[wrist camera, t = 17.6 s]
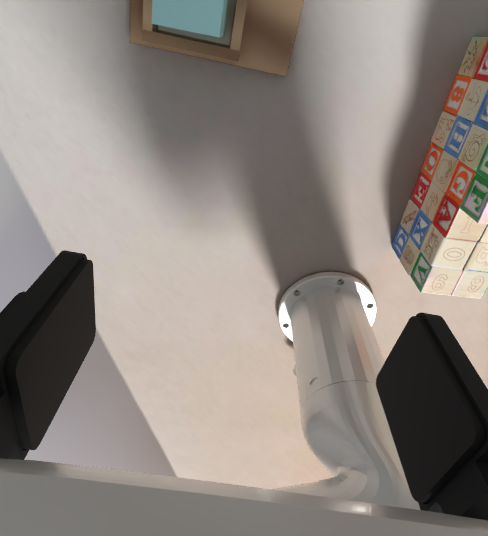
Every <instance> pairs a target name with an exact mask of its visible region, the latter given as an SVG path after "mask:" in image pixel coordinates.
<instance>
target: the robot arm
mask: <svg viewBox="0 0 488 536" xmlns="http://www.w3.org/2000/svg"><path fill="white" fill-rule="evenodd" d="M376 310H377V308H376V302H375V299H374V296H373V294H372V292H371V291H370V289H369V288H368V287H367V285H366V284H365V283H364V282H362V281H361V280H359V279H358V278H356V277H354V276H351V275H349V274H345V273H340V272H322V273H317V274H313V275H309V276H307V277H305V278H302V279H301V280H299V281H297V282H296V283H294V284H293V285H292V286H291V287H290V288H289V289H288V290H287V291H286V292H285V294H284V295H283V296H282V299H281V301H280V303H279V308H278V319H279V324H280V327H281V329H282V331H283V332H284V334H285V335H286V336H287V337H288V338H289V339H290V340H291V341H293V347H294V356H295V367H294V369H293V372H294V374H295V375H296V376H297V384H298V393H299V403H300V412H301V423H302V430H303V434H304V437H305V440H306V442H307V444H308V446H309V448H310V450H311V451H312V453H313V454H314V455H315V457H316V458H317V459H318V460H319V461H320V462H321V464H322V465H323V466H324V467H325V468H326V469H327V470H329V471H330V472H331V473H332V474H333V475H334V476H335V477H333V478H330V479H325V480H320V481H318V482H313V483H307V484H301V485H295V486H289V487H283V488H277V489H271V490H269V489H262V488H254V487H247V486H239V485H232V484H224V483H216V482H209V481H201V480H193V479H185V478H177V477H170V476H162V475H154V474H146V473H138V472H130V471H122V470H115V469H107V468H98V467H89V466H80V465H71V464H61V463H52V462H43V461H33V460H24V459H25V457H26V455H27V453H28V451H29V449H30V450H35V449H36V448H37V447H38V446H39V444H40V442H41V441H42V439H43V437H44V435H45V433H46V431H47V429H48V427H49V425H50V424H51V421H52V420H53V418H54V416H55V414H56V412H57V410H58V408H59V406H60V404H61V402H62V400H63V399H64V397H65V395H66V393H67V391H68V389H69V387H70V385H71V383H72V381H73V380H74V378H75V376H76V374H77V372H78V370H79V368H80V366H81V364H82V362H83V361H84V359H85V357H86V355H87V353H88V351H89V349H90V347H91V345H92V343H93V341H94V338H95V333H96V326H95V302H94V279H93V263H92V261H91V260H87V257H86V255H85V254H82V253H76V252H70V251H62V252H61V253H60V254H59V255H58V256H57V257H56V258H55V260H54V261H53V262H52V263H51V264H50V265H49V266H48V267H47V268H46V270H45V271H44V272H43V273H42V274H41V275H40V277H39V278H38V279H37V280H36V281H35V282H34V283H33V285H32V286H31V287H30V288H29V289H28V290H27V291H26V292H21V293H19V294H18V295H16V296H15V297H14V298H13V299H12V301H11V302H10V303H9V304H8V305H7V306H6V307H5V308H4V309H3V311H2V312H1V313H0V536H488V389H487V388H486V386H485V384H484V383H483V381H482V380H481V378H480V376H479V375H478V373H477V372H476V370H475V368H474V367H473V365H472V364H471V362H470V361H469V359H468V357H467V356H466V354H465V353H464V351H463V349H462V348H461V346H460V345H459V343H458V341H457V340H456V338H455V337H454V335H453V334H452V332H451V330H450V329H449V327H448V326H447V324H446V322H445V321H444V319H443V318H442V317H441V316H438V315H432V314H426V313H418V314H417V315H416V316H413V317H411V318H410V319H409V321H408V323H407V324H406V326H405V328H404V330H403V331H402V333H401V335H400V337H399V338H398V340H397V342H396V344H395V345H394V347H393V349H392V351H391V352H390V354H389V356H388V358H387V359H386V361H385V362H384V359H383V356H382V354H381V351H380V348H379V346H378V343H377V340H376V338H375V335H374V332H373V330H372V327H371V326H372V324H373V322H374V320H375V317H376Z"/></svg>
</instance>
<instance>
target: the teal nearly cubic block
mask: <svg viewBox="0 0 488 536" xmlns="http://www.w3.org/2000/svg"><path fill="white" fill-rule="evenodd" d="M228 3H229V0H152V24H156V25H160V26H165V27H170V28H175V29H180V30H185V31H190V32H194V33H199V34H204V35H209V36H214V37H219V38H220V37H223V36H225V28H226V19H227V11H228Z"/></svg>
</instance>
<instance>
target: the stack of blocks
mask: <svg viewBox="0 0 488 536" xmlns="http://www.w3.org/2000/svg"><path fill="white" fill-rule="evenodd" d="M392 248H393V250H394V251H395V253H396V255H397V256H398V258H399V259H400V262H401V263H402V265H403V267H404V268H405V270H406V272H407V273H408V275H410V276H411V278H412V280H413V281H414V282H415V284H416V286H417V287H418V289H419V290H420V292H422V293H430V294H439V295H447V296H450V295H453V296H461V297H470V298H479V299H480V298H481V297H482V296H483V294H484V292H485V290H486V289H487V287H488V37H478V36H475V37H472V38H471V41H470V43H469V46H468V49H467V51H466V54H465V56H464V59H463V61H462V64H461V66H460V69H459V72H458V74H457V75H456V77H455V79H454V82H453V85H452V87H451V90H450V92H449V95H448V98H447V100H446V103H445V105H444V108H443V111H442V113H441V116H440V118H439V120H438V123H437V126H436V128H435V131H434V134H433V136H432V139H431V145H430V147H429V150H428V153H427V155H426V158H425V160H424V163H423V166H422V168H421V173H420V175H419V177H418V180H417V182H416V185H415V188H414V190H413V193H412V196H411V199H409V201H408V204H407V206H406V209H405V211H404V214H403V217H402V219H401V222H400V225H399V227H398V230H397V233H396V236H395V238H394V241H393V243H392Z"/></svg>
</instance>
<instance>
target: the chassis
mask: <svg viewBox="0 0 488 536" xmlns="http://www.w3.org/2000/svg"><path fill="white" fill-rule="evenodd" d="M303 1H304V0H229V3H228V11H227V19H226V28H225V36H223V37H220V38H219V37H214V36H209V35H204V34H199V33H194V32H190V31H185V30H180V29H175V28H170V27H165V26H160V25H156V24H152V0H130V43H135V44H139V45H144V46H149V47H153V48H158V49H163V50H167V51H172V52H176V53H181V54H186V55H190V56H195V57H199V58H204V59H209V60H213V61H218V62H222V63H227V64H232V65H236V66H241V67H245V68H250V69H255V70H259V71H264V72H269V73H273V74H278V75H282V76H287V72H288V67H289V63H290V58H291V54H292V50H293V45H294V41H295V36H296V32H297V27H298V23H299V18H300V14H301V10H302V5H303Z"/></svg>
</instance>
